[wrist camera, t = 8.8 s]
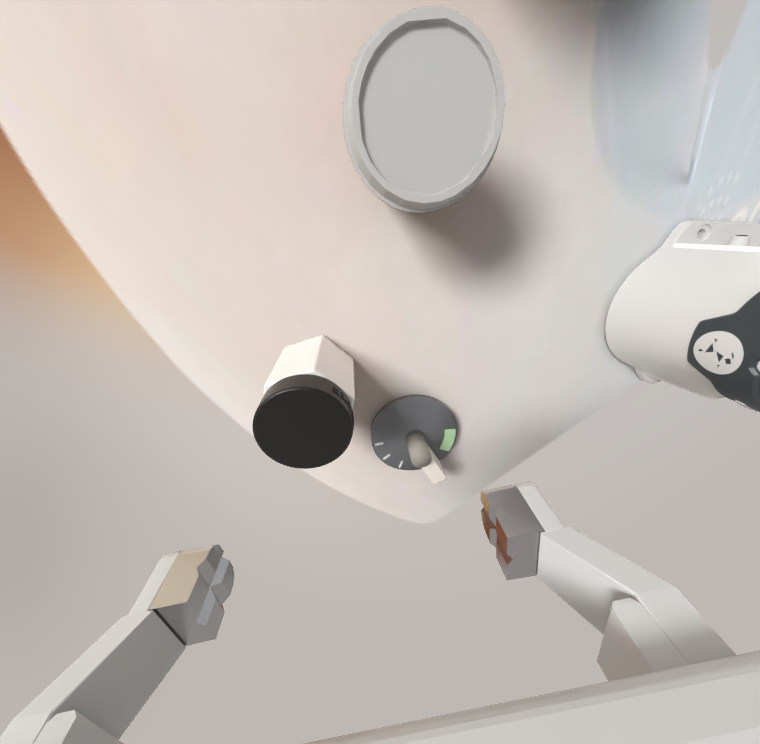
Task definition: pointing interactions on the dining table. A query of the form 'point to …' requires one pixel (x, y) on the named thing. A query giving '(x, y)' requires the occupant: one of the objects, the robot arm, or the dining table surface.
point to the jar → (307, 405)
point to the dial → (412, 429)
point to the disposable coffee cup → (423, 109)
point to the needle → (424, 456)
